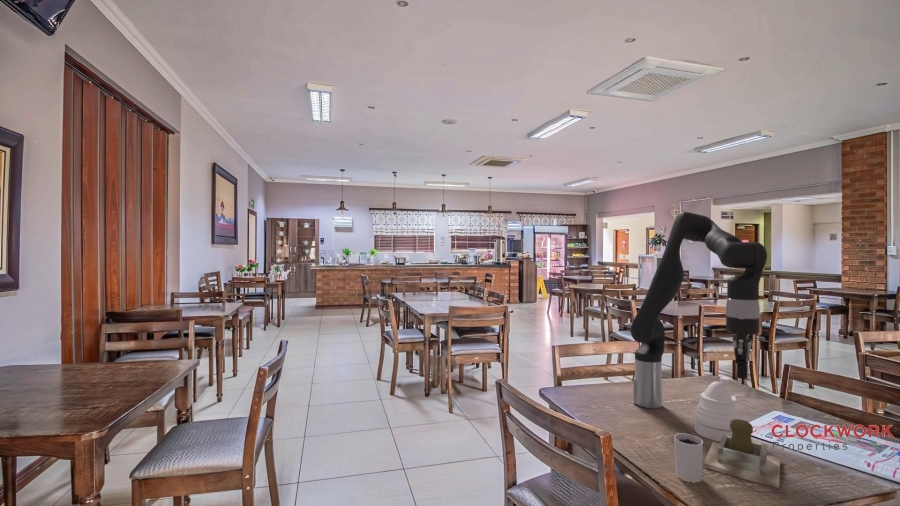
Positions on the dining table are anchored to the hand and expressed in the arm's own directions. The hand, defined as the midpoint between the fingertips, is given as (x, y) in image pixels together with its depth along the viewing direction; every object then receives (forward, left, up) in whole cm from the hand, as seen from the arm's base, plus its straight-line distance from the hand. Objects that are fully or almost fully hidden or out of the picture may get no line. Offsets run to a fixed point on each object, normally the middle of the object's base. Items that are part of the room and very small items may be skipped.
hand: (742, 378), depth 114 cm
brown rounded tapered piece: (0, 0, -23) cm, 23 cm away
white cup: (-10, -16, -24) cm, 31 cm away
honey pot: (-8, +19, -24) cm, 32 cm away
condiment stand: (0, 0, -24) cm, 24 cm away
